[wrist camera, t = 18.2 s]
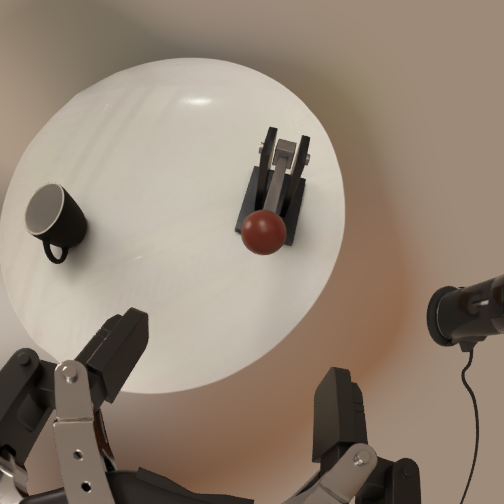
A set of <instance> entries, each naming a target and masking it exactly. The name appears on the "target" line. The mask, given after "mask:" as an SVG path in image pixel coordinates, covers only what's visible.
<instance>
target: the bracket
mask: <svg viewBox="0 0 504 504" xmlns="http://www.w3.org/2000/svg"><path fill="white" fill-rule="evenodd" d="M277 130H278V129H277V128H273V127H269V130H268V133H267V136H266V139H265V142H264V143H262V142H261V144H260V148H259V153H260V154H261V157H260V165H259V167H257V166H254V169H253V172H252V175H251V178H250V182H249V185H248V188H247V191H246V194H245V198H244V201H243V204H242V207H241V211H240V214H239V217H238V220H237V224H236V227H235V231H236V232H240V233H241V228H242V224H243V222H244V220H245V219H246V218H247V217H248V216H249V215H250V214H251V213H253V212H255V211H259V210H263V208H264V204H265V201H266V198H267V194H268V191H269V188H270V184H271V181H272V177H273V174H274V170H270V167H271V162H272V157H273V151H274V146H275V140H276V135H277ZM309 142H310V137H308V136H304V135H302V138H301V141H300V144H299V148H298V151H297V154H296V157H295V161H294V164H293V167H292V170H291V174H290V175H289V174H285V175H284V179H283V183H282V188H281V192H280V196H279V201H278V205H277V209H276V214H277V215H279V216H280V217H281V219H282V220H283V222H284V224H285V227H286V238H285V241H284V243H283V244H286V245H289V246H291V245H292V243H293V239H294V235H295V230H296V226H297V221H298V216H299V211H300V206H301V201H302V196H303V191H304V186H305V181H306V179H304V178H300V177H301V174H302V172H303V169H304V166H305V165H308V163H309V159H310V155H309V154H307V152H308V147H309Z"/></svg>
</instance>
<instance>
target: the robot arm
mask: <svg viewBox="0 0 504 504" xmlns="http://www.w3.org/2000/svg"><path fill="white" fill-rule="evenodd" d="M459 288H462V289H459V290H455V291H451V292H447V293H445V294H444V295H442V296H441V298H440V299H439V301H438V303H437V306H436V310H435V323H436V327H437V330H438V332H439V333H440V335H441V336H442V337H443V338H445V339H447V340H448V341H449V343H450V344H452V343H459V344H460V347H461V350H462V352H470V358H469V362H468V364H467V366H466V367H465V368H464V369H463V371H462V382H463V384H464V385H465V387H466V388H467V390H468V391H469V393H470V395H471V397H472V400H473V404H474V409H475V417H476V446H475V454H474V460H473V465H472V469H471V473H470V476H469V480H468V483H467V486H466V489H465V492H464V495H463V497H462V500H461V503H460V504H462V503H463V500H464V498H465V495H466V492H467V489H468V487H469V484H470V481H471V477H472V474H473V470H474V466H475V461H476V457H477V450H478V440H479V422H478V421H479V420H478V410H477V405H476V399H475V396H474V394H473V391H472V390H471V388H470V387H469V385H468V384H467V382H466V380H465V377H464V374H465V371H466V370H467V369H468V368H469V367H470V365H471V362H472V358H473V347H474V346H475V345H476V344H477V342H479V341H484V340H485V338H486V337H487V336H489V335H498V334H504V275H501V276H498V277H495V278H492V279H490V280H487V281H484V282H481V283H478V284H475V285H472V286H469V287H459ZM148 339H149V331H148V314H147V313H145V312H143V311H140V310H138V309H135V308H133V307H131V308H130V309H129V310H128V311H127V312H126V313H125V314H124V316H121V315H119V314H117V315H115V316H113V317H111V318H110V319H108V320H107V321H106V322H105V323H104V324H103V326H102V327H101V329H99V330H98V332H97V333H96V335H94V336H93V338H92V339H91V340H90V341H89V342H88V344H87V345H86V346H85V347H84V348H83V350H82V351H81V352H80V353H79V355H78V356H77V357H76V358H75V359H74V360H67V361H64V362H62V363H60V364H55V363H51V362H47V361H43V360H40V359H39V357H38V355H37V353H36V352H35V351H34V350H32V349H30V348H22V349H19V350H18V351H16V352H15V353H14V354H13V355H12V357H11V358H10V359H9V361H8V362H7V363H6V364H5V365H4V367H3V368H2V369H1V371H0V504H254V500H252V499H246V498H239V497H235V496H230V495H221V494H220V495H219V494H197V493H193V492H191V491H189V490H187V489H185V488H183V487H182V486H180V485H178V484H176V483H175V482H173V481H171V480H170V479H168V478H166V477H164V476H161V475H158V474H156V473H153V472H151V471H148V470H146V469H143V468H141V467H139V469H138V471H134V470H118V469H117V466H116V463H115V459H114V457H113V454H112V451H111V449H110V446H109V443H108V439H107V435H106V431H105V426H104V422H103V417H102V412H101V408H100V406H101V405H102V403H103V401H104V400H105V401H107V402H109V403H113V401H114V400H115V398H116V396H117V395H118V393H119V391H120V390H121V388H122V386H123V385H124V383H125V381H126V380H127V378H128V376H129V375H130V373H131V372H132V370H133V368H134V367H135V365H136V363H137V362H138V360H139V359H140V357H141V355H142V354H143V352H144V351H145V349H146V346H147V343H148ZM54 409H56V414H57V419H56V420H55V421H54V423H53V431H54V439H55V445H56V451H57V457H58V462H59V467H60V472H61V477H62V481H63V485H64V487H62V488H59V489H55V490H52V491H48V492H44V493H40V494H36V495H31V496H29V495H28V493H27V489H26V483H27V481H28V474H27V470H26V468H25V466H24V463H25V461H26V459H27V457H28V455H29V453H30V451H31V449H32V447H33V445H34V443H35V441H36V439H37V438H38V436H39V434H40V432H41V430H42V429H43V427H44V425H45V423H46V422H47V420H48V418H49V416H50V415H51V413H52V411H53V410H54ZM312 462H314V463H321V466H320V469H319V470H318V471H317V472H316V473H315V474H314V475H313V476H312V477H311V478H310V479H309V480H308V481H307V482H306V483H305V484H304V485H303V486H302V487H301V488H300V489H299V490H298V491H297V492H296V493H295V494H294V495H292V496H291V497H290V498H289V499H287V500H286V501H284V502H283V503H282V504H349V502H350V501H351V499H352V498H353V497H354V496H355V497H356V498H355V504H421V489H420V474H419V468H418V465H417V464H416V462H414V461H413V460H412V459H409V458H403V459H400V460H398V461H397V462H393V461H389V460H386V459H383V458H380V457H378V456H377V454H376V452H375V451H374V449H373V448H372V447H370V446H369V445H368V441H367V432H366V421H365V413H364V406H363V397H362V392H361V390H360V388H359V387H358V385H357V383H353V382H351V376H350V371H349V370H347V369H342V368H336V367H331V368H330V370H329V371H328V373H327V374H326V375H325V377H324V378H323V380H322V381H321V383H320V384H319V386H318V387H317V389H316V392H315V396H314V429H313V455H312Z"/></svg>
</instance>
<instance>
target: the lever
mask: <svg viewBox="0 0 504 504" xmlns="http://www.w3.org/2000/svg"><path fill="white" fill-rule="evenodd" d="M295 149H296V143H294V142H290V141H286V140H282V139H279V140H278V143H277V146H276V149H275V154H274V158H273V163H272V165H275V166H276V167H275V171H274V174H273V177H272V181H271V184H270V188H269V191H268V194H267V198H266V201H265V204H264V208H263V210H259V211H255V212H253V213H251V214H250V215H249V216H248V217H247V218H246V219H245V220H244V222H243V224H242V228H241V237H242V241H243V243H244V245H245V246H246V247H247V248H248V249H249V250H250V251H251V252H253V253H255V254H258V255H269V254H272V253H274V252H276V251H277V250H279V249H280V248H281V246H282V245H283V243H284V241H285V238H286V227H285V224H284V222H283V220H282V219H281V217H280V216H279V215H277V214H276V209H277V205H278V201H279V196H280V192H281V188H282V183H283V179H284V175H285V171H286V169H290V168H291V165H292V161H293V157H294V154H295Z"/></svg>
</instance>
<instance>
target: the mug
mask: <svg viewBox="0 0 504 504" xmlns="http://www.w3.org/2000/svg"><path fill="white" fill-rule="evenodd" d="M24 223H25V227H26V229H27V231H28V232H29V233H30V234H31V235H33V236H35V237H36V238H38V239H40V240H42V241H43V246H44V250H45V253H46V255H47V257H48V258H49V260H50V261H51V262H53V263H55V264H60V263H62V262H63V261H64V260H65V259H66V257H67V254H68V250H69V248H71V247H74V246H76V245H77V244H79V243H80V242H81V240H82V239H83V237H84V235H85V233H86V227H87V224H86V219H85V216H84V214H83V212H82V211H81V209H80V208H79V206H78V205H77V203H76V202H75V201H74V200H73V198H72V197H71V196H70V195H69V194H68V192H67V191H66V190H65V189H64V188H63V187H62V186H61V185H59V184H58V183H54V182H51V183H47V184H45V185H43V186H41V187H40V188H39V189H38V190H37V191H36V192H35V193H34V194H33V195H32V197H31V198H30V200H29V202H28V204H27V207H26V210H25V215H24ZM50 244H52V245H54V246H57V247H61V248H62V255H61V258H60V259H59V260H58V259H56V258H55V257H54V256H53V254H52V252H51V249H50Z"/></svg>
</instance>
